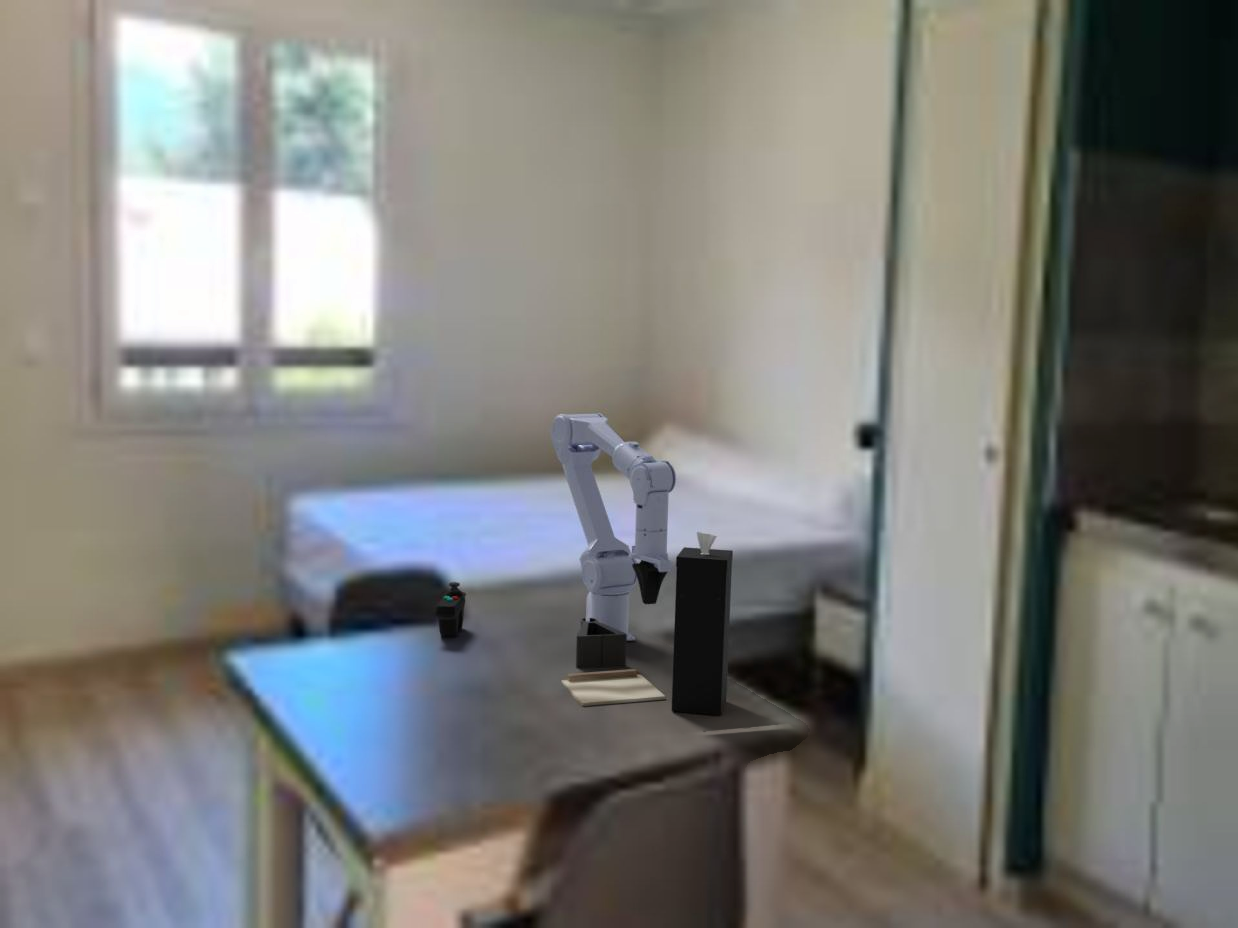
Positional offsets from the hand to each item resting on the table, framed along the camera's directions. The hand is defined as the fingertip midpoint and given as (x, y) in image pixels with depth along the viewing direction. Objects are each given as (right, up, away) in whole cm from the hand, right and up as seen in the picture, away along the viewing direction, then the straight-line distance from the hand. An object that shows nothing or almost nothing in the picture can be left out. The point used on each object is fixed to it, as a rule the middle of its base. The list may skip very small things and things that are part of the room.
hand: (649, 603), depth 212 cm
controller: (-37, -8, +9) cm, 39 cm away
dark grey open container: (-8, -8, -7) cm, 14 cm away
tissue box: (+7, -14, -25) cm, 30 cm away
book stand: (-7, -12, -19) cm, 23 cm away
